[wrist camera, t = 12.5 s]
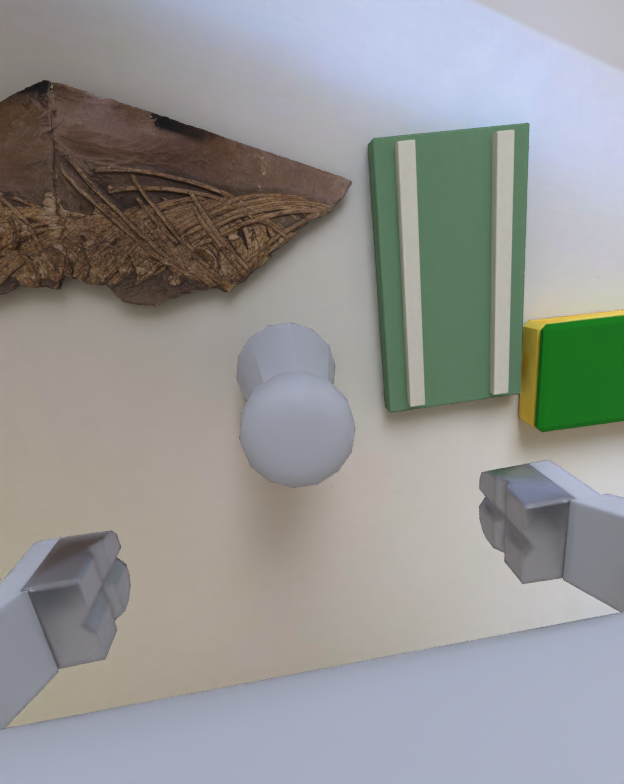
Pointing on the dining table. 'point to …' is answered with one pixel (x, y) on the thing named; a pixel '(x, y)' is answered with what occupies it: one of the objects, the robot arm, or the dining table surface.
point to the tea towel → (450, 262)
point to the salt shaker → (292, 407)
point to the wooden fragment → (140, 198)
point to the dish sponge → (573, 371)
